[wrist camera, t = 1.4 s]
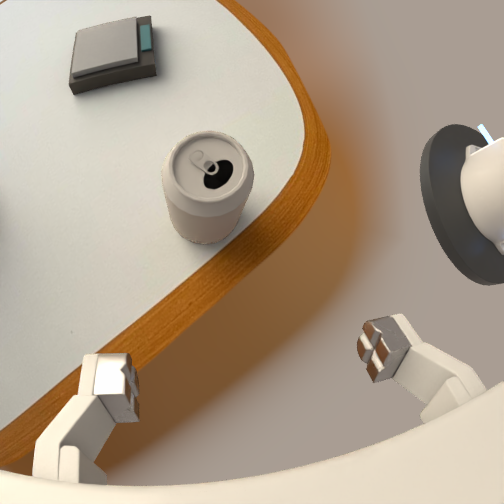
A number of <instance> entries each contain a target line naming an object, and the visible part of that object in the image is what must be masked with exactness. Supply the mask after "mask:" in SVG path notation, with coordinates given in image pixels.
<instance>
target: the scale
mask: <svg viewBox="0 0 504 504" xmlns="http://www.w3.org/2000/svg"><path fill="white" fill-rule="evenodd" d="M151 76H156V67H155V57H154V47H153V36H152V24H151V16H145V17H139V18H136V17H132V18H127V19H122V20H118V21H113V22H109V23H105V24H101V25H97V26H93V27H89V28H86V29H82V30H79V31H78V32H77V33H76V36H75V42H74V48H73V55H72V62H71V69H70V78H69V86H70V88H71V90H72V93H73V95H75V94H78V93H82V92H85V91H89V90H93V89H97V88H100V87H104V86H109V85H113V84H117V83H121V82H126V81H131V80H135V79H140V78H146V77H151Z"/></svg>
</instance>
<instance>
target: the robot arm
mask: <svg viewBox="0 0 504 504" xmlns="http://www.w3.org/2000/svg"><path fill="white" fill-rule="evenodd" d="M478 128H479V129H480V131H481V132H482V134H483V135H484V137H485V138H486V140H487V142H488V143H489V145H487V146H485V147H483V148H480V147H477V146H474V145H470V146H468V147H466V160H465V163H464V165H463V167H462V170H461V190H462V195H463V199H464V202H465V205H466V208H467V210H468V213H469V215H470V217H471V219H472V221H473V222H474V224H475V226H476V227H477V228H478V230H479V231H480V232H481V233H482V234H483V235H484V236H485V237H486V238H487V239H489V240H490V241H492V242H493V243H494V244H495V246H496V248H497V249H498V251H499V252H500V253H501V254H502V255H504V138H503V137H502V138H500V139H498V140H496V141H494V142H493V140H492V138H491V137H490V135H489V134H488V133H487V131H486V129H485V128H484V126H483V125H482V124H481V125H480V126H479V127H478ZM362 329H363V330H364V332H363V333H362V334H361V335H360V337H359V339H358V342H357V351H358V354H359V356H360V358H361V360H362V361H364V362H365V363H367V369H366V370H367V371H368V373H369V375H370V377H371V379H372V381H373V383H375V382H379V381H383V380H386V379H390V378H392V379H393V380H394V381H396V382H397V383H398V384H400V385H401V386H402V387H404V388H405V389H406V390H408V391H409V392H410V393H412V394H413V395H414V396H416V397H417V398H418V399H420V400H421V401H422V402H424V403H425V404H426V407H425V408H424V409H423V410H422V411H421V413H420V418H421V420H422V422H423V424H422V425H420V426H418V427H416V428H413V429H411V430H409V431H406V432H404V433H402V434H399V435H397V436H394V437H392V438H389V439H387V440H384V441H382V442H379V443H376V444H373V445H370V446H368V447H365V448H362V449H359V450H356V451H353V452H350V453H347V454H343V455H341V456H337V457H334V458H330V459H327V460H323V461H320V462H316V463H312V464H308V465H304V466H300V467H296V468H292V469H287V470H283V471H278V472H273V473H268V474H263V475H258V476H252V477H245V478H239V479H232V480H225V481H217V482H207V483H197V484H184V485H165V486H114V485H107V475H106V474H105V473H104V472H103V471H102V470H101V469H100V468H99V467H98V466H97V465H95V464H94V463H93V462H94V460H95V459H96V457H97V455H98V454H99V452H100V450H101V448H102V447H103V445H104V443H105V442H106V440H107V438H108V437H109V435H110V433H111V432H112V430H113V428H114V427H115V425H116V423H121V422H139V403H138V401H137V399H136V397H137V396H138V394H139V381H138V376H137V371H136V369H135V367H133V366H132V359H131V356H130V354H129V353H114V354H86V355H85V356H84V358H83V364H82V370H81V376H80V383H79V390H78V395H74V396H73V397H72V398H71V399H70V400H69V402H68V403H67V404H66V405H65V406H64V408H63V409H62V410H61V411H60V412H59V414H58V415H57V416H56V417H55V419H54V420H53V421H52V422H51V423H50V425H49V426H48V427H47V428H46V429H45V431H44V432H43V433H42V434H41V436H40V437H39V438H38V439H37V441H36V445H35V453H34V463H33V475H32V476H26V475H21V474H16V473H11V472H7V471H3V470H0V504H504V381H502V382H500V383H499V384H497V385H496V386H494V387H493V388H491V389H489V390H487V389H486V388H485V386H484V385H483V383H482V382H481V380H480V379H479V377H478V376H477V374H476V373H475V371H474V370H473V369H472V367H470V366H468V365H467V364H465V363H463V362H461V361H460V360H458V359H456V358H454V357H452V356H450V355H448V354H447V353H445V352H443V351H441V350H439V349H438V348H436V347H434V346H432V345H430V344H429V343H427V342H426V343H423V342H422V340H421V339H420V337H419V336H418V335H417V333H416V332H415V330H414V329H413V327H412V326H411V325H410V323H409V322H408V321H407V319H406V318H405V317H404V315H402V314H396V315H392V316H386V317H382V318H378V319H373V320H369V321H366V323H364V325H363V328H362Z"/></svg>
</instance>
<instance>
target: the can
mask: <svg viewBox="0 0 504 504" xmlns="http://www.w3.org/2000/svg"><path fill="white" fill-rule="evenodd" d="M161 176H162V186H163V190H164V195H165V199H166V203H167V207H168V211H169V215H170V218H171V221H172V223H173V225H174V228H175V229H176V231H177V232H178V233H179V234H180V235H181V236H182V237H184V238H185V239H187V240H189V241H191V242H194V243H199V244H210V243H215V242H218V241H220V240H222V239H224V238H225V237H227V236H228V235H229V234H230V233H231V232H232V231H233V229H234V227H235V226H236V224H237V222H238V220H239V217H240V215H241V213H242V210H243V208H244V206H245V203H246V201H247V199H248V196H249V194H250V192H251V189H252V186H253V180H254V171H253V166H252V162H251V160H250V158H249V156H248V154H247V153H246V151H245V150H244V149H243V147H242V146H241V145H240V144H239V143H238V142H237V141H236V140H235V139H234V138H232V137H230V136H228V135H226V134H224V133H221V132H216V131H200V132H196V133H193V134H191V135H188V136H186V137H185V138H183V139H182V140H181V141H180V142H178V143H177V144H176V145H175V146H174V147H173V148H172V149H171V151H170V152H169V153H168V155H167V156H166V158H165V160H164V163H163V167H162V170H161Z"/></svg>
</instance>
